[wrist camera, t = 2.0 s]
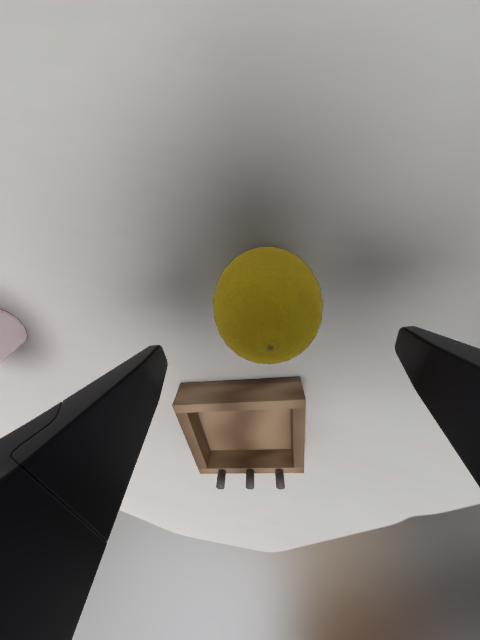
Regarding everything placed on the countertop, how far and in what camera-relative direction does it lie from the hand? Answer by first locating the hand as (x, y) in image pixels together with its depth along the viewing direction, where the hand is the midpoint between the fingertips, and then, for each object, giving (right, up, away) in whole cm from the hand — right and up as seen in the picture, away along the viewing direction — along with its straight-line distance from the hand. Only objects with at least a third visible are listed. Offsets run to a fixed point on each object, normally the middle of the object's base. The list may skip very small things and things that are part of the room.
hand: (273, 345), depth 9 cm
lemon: (0, +4, +7) cm, 8 cm away
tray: (-1, -9, +14) cm, 17 cm away
